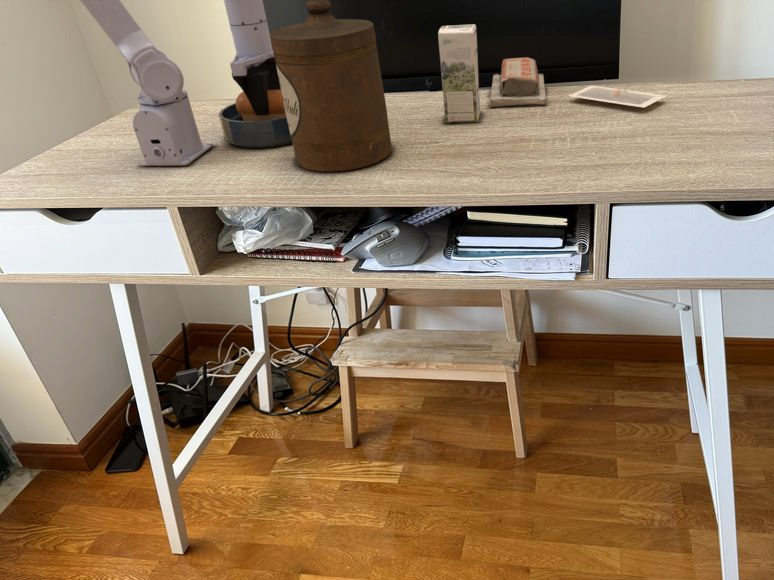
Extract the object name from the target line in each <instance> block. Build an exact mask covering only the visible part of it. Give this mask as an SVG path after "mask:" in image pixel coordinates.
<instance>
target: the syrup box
mask: <svg viewBox="0 0 774 580" xmlns="http://www.w3.org/2000/svg"><path fill="white" fill-rule="evenodd" d="M437 37H438V39H437V40H438V49H439V61H440V73H441V75H440V76H441V85H442V86H441V87H442V99H443V110H444V111H443V112H444V121H445V122H444V123H445V124H458V123H459V124H461V123H478V122H479V118H480V114H481V100H480V87H479V86H480V83H479V61H478V60H479V59H478V39H477V38H478V36H477V25H476V24H474V23H473V24H458V25H457V24H456V25H453V24H452V25H441V26H440V28H439V30H438V32H437Z"/></svg>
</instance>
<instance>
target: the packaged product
mask: <svg viewBox="0 0 774 580" xmlns="http://www.w3.org/2000/svg"><path fill="white" fill-rule="evenodd" d="M537 66H538V65H537V61H536V60H535V59H534V58H530V57H528V56H526V57H513V58H512V57H511V58H504V59H502V62H501V67H500V70H501V71H500V74H498V73H495V74H493V75H492V84H491V90H490V96H489V97H490V98H489V102H490V107H491V108H494V107H495V108H497V107H505V106H528V105H529V106H531V105H532V106H533V105H543V106H544V105H546V99H547V97H546V89H545V79H544V74H543V73H539V71H538V67H537Z"/></svg>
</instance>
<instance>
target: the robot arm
mask: <svg viewBox="0 0 774 580" xmlns="http://www.w3.org/2000/svg"><path fill="white" fill-rule="evenodd" d="M79 1H80V3H81V4H82V5H83V7H84V8H85V9H86V10H87V12H88V13H89V14H90V16H92V18H93V19H94V21H95V22H96V23H97V25H99V27H100V29H101V30H102V31H103V32H104V34H105V35H106V36H107V37H108V38H109V40H110V41H111V42H112V44H113V45H114V47H115V48H116V49H117V50H118V51H119V53H120V54H121V56H122V57H123V58H124V60H125V61H126V63H127V65H128V69H129V73H130V76H131V78H132V80H133V81H134V82H135V83H136V85H138V86H139V87H140V89H141V90H140V92H139V95H138V96H137V101H138V103H139V108H138V111H137V112H136V113H135V115H134V116H133V120H132V127H133V131H134V133H135V136H136V139H137V143H138V145H139V147H140V150H141V154H142V157H143V160H142V161H141V162H140V165H141V166H146V167H147V166H150V167H151V166H156V167H157V166H161V167H162V166H188V165H190V163H192V162H193V161H194V160H196V159H197V158H199V157H200V156H201V155H204V154H205V153H206V152H207V151H209V150H210V149H212V147H214V142H202V139H201V136H200V132H199V129H198V125H197V121H196V119H195V115H194V112H193V109H192V106H191V102H190V99H189V98H190V97H189V95H188V91H187V90H185V89H184V84H185V83H184V81H185V80H184V75H183V72H182V70H181V68H180V67H179V66H178V65H177V64H176V62H174V61H173V60H172V59H170V58H168V56H167V55H166V54H165V53H163V52H162V51H160V50H159V49H158V48H157V47H156V46H155V44H154V43H153V42H152V41H151V39H150V38H149V36H147V34H146V33H145V32H144V31H143V29H142V28H141V27H140V26H139V24H138V23H137V22H136V20H135V19H134V16H132V15H131V13H130V12H129V11H128V9H127V8H126V7H125V5H124V4H123V3H122V1H121V0H79ZM223 3H224V7H225V11H226V16H227V19H228V23H229V27H230V32H231V36H232V40H233V44H234V49H235V52H236V53H235V55H234V58H233V60H232V61H231V62H230V63H229V67H230V69H231V77H232V79H233V81H234V82H235V83H236V84H237V85H238V86H239V87H240V89H241V90H242V92H244V93H245V95H246V96H247V98H248V100H249V102H250V104H251V106H252V108H253V110H254V112H255V114H256V115H268V114H269V103H268V96H267V90H281V87H280V82H279V77H278V72H277V67H276V62H275V58H274V54H273V50H272V45H271V40H270V29H269V25H268V21H267V16H266V10H265V6H264V1H263V0H223Z"/></svg>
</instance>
